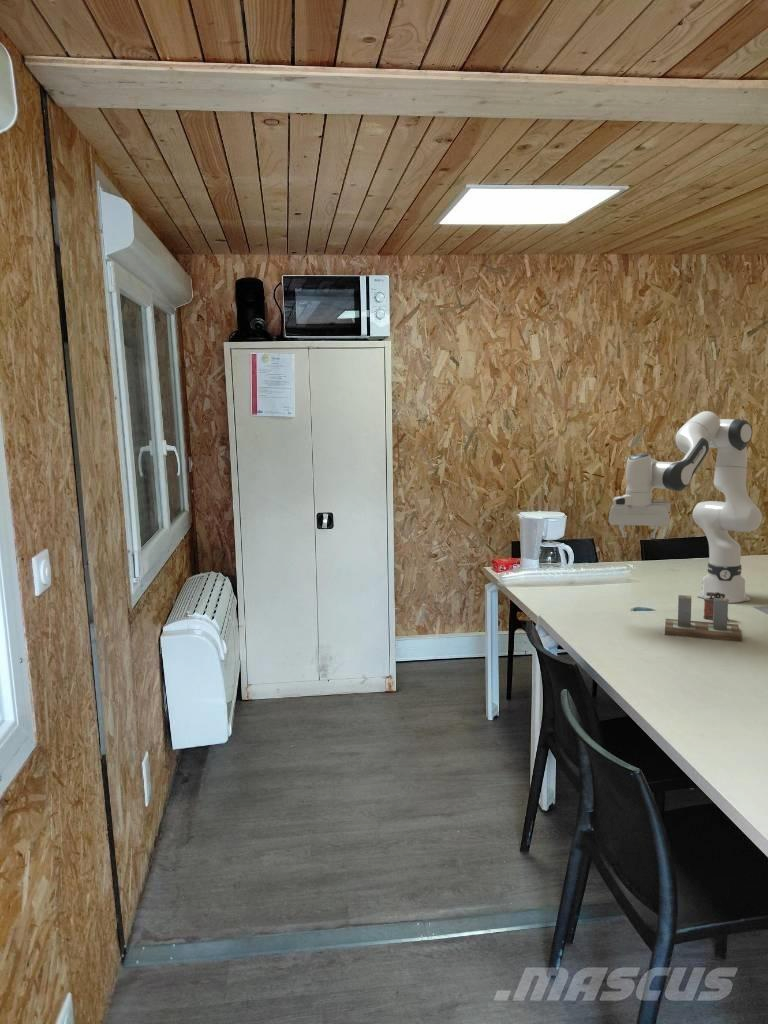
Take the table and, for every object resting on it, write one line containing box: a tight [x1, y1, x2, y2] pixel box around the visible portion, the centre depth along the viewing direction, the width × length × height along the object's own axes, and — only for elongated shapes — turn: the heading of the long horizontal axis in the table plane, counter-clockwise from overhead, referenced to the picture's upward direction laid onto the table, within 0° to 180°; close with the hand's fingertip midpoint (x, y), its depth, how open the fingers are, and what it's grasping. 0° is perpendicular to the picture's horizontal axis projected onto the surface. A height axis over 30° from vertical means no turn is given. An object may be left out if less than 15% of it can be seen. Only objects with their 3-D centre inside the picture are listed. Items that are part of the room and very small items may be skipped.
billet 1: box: [677, 594, 692, 627], centre depth 227 cm, size 4×4×10 cm
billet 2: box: [712, 598, 729, 631], centre depth 222 cm, size 4×4×10 cm
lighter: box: [703, 592, 729, 621], centre depth 238 cm, size 8×3×10 cm, turn 74°
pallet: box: [664, 618, 743, 642], centre depth 225 cm, size 14×23×2 cm, turn 66°
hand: (638, 537), depth 236 cm, fingers open, 8 cm apart
